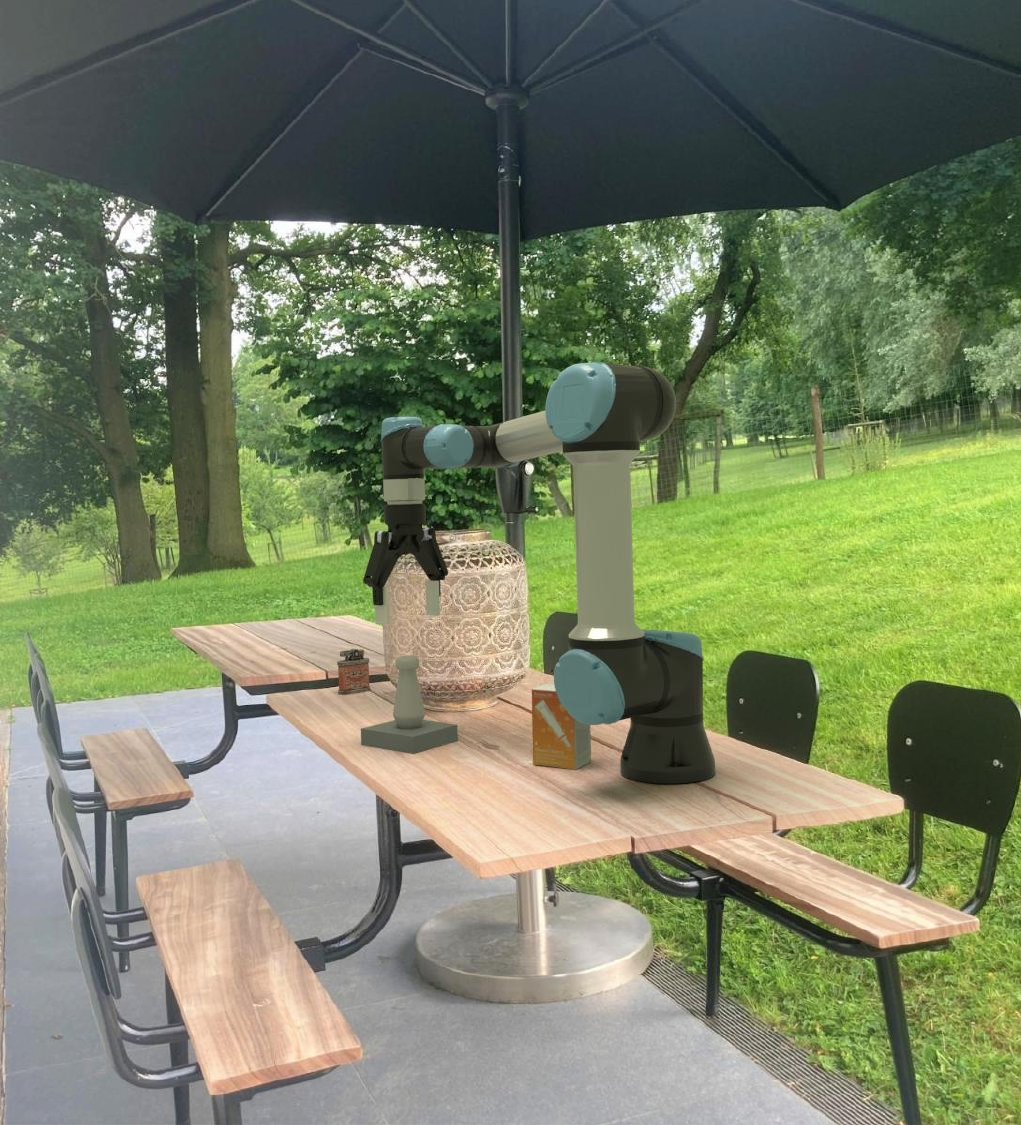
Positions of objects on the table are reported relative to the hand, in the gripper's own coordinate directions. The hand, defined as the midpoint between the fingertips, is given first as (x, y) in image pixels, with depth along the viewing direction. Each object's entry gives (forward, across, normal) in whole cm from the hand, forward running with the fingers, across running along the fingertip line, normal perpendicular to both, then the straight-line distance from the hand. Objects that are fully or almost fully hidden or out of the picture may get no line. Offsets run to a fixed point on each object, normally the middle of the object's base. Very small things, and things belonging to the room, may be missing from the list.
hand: (408, 619), depth 216 cm
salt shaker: (+20, 0, 0) cm, 20 cm away
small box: (+23, -1, +33) cm, 40 cm away
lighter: (+23, -32, -47) cm, 61 cm away
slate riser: (+23, 0, 0) cm, 23 cm away
